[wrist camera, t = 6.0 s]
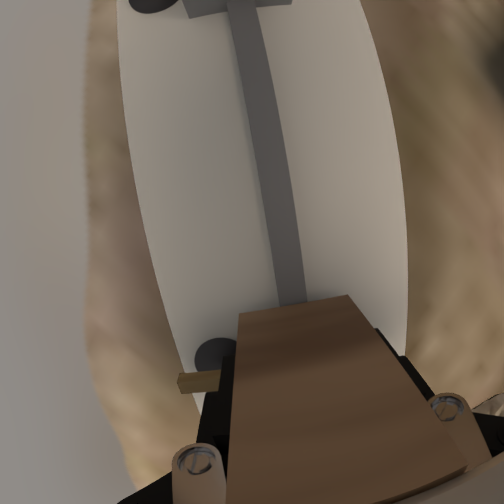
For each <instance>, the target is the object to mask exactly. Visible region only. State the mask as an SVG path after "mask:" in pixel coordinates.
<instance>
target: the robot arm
mask: <svg viewBox="0 0 504 504" xmlns="http://www.w3.org/2000/svg"><path fill="white" fill-rule="evenodd" d="M374 329H375V330H376V332H377V333H378V334H379V336H380V337H381V338H382V340H383V341H384V342H385V344H386V345H387V346H388V348H389V349H390V350H391V352H392V353H393V355H394V356H395V357H396V359H397V360H398V361H399V363H400V364H401V366H402V367H403V368H404V370H405V371H406V372H407V374H408V375H409V377H410V378H411V379H412V381H413V382H414V384H415V385H416V386H417V388H418V389H419V391H420V392H421V394H422V395H423V396H424V398H425V399H426V401H427V402H428V404H429V405H430V407H431V408H432V409H433V411H434V412H435V414H436V415H437V417H438V418H439V420H440V421H441V423H442V424H443V426H444V427H445V429H446V430H447V432H448V433H449V435H450V436H451V438H452V439H453V441H454V442H455V444H456V445H457V447H458V448H459V450H460V452H461V453H462V455H463V456H464V458H465V459H466V461H467V463H468V466H467V468H466V470H465V472H464V473H463V474H462V475H460V476H458V477H456V478H454V479H452V480H450V481H448V482H446V483H443V484H441V485H439V486H437V487H434V488H432V489H430V490H427V491H425V492H422V493H420V494H417V495H415V496H412V497H409V498H407V499H404V500H401V501H398V502H396V503H393V504H504V417H502V416H495V415H489V414H482V413H476V412H472V411H471V409H470V407H469V405H468V403H467V402H466V400H465V399H464V398H463V397H461V396H460V395H457V394H455V393H440V394H438V395H435V394H434V393H433V391H432V390H431V389H430V387H429V386H428V385H427V383H426V382H425V381H424V379H423V378H422V377H421V375H420V374H419V373H418V371H417V370H416V369H415V368H414V366H413V365H412V364H411V362H410V361H409V360H408V358H407V357H406V356H403V355H402V356H399V355H398V354H397V352H396V351H395V350H394V348H393V347H392V346H391V344H390V343H389V342H388V340H387V339H386V338H385V337H384V335H383V334H382V333H381V331H380V330H379V329H378V328H374ZM235 357H236V354H233V355H225V356H223V359H222V367H221V374H220V381H219V388H218V391H212V392H206V393H205V397H204V402H203V408H202V413H201V418H200V424H199V429H198V435H197V440H196V443H194V444H190V445H187V446H185V447H183V448H181V449H180V450H179V451H178V452H177V453H176V454H175V455H174V457H173V460H172V471H171V472H170V473H168V474H166V475H165V476H163V477H161V478H160V479H158V480H156V481H155V482H153V483H151V484H150V485H148V486H146V487H145V488H143V489H141V490H139V491H137V492H136V493H134V494H132V495H130V496H128V497H127V498H125V499H123V500H121V501H120V502H119V503H117V504H225V501H226V485H227V470H228V455H229V440H230V426H231V412H232V398H233V384H234V370H235Z"/></svg>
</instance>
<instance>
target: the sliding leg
mask: <svg viewBox="0 0 504 504" xmlns="http://www.w3.org/2000/svg"><path fill="white" fill-rule="evenodd" d="M220 374H221V370H212V371H202V372H191V373H180V375H179V378H178V381H177V384H178V386H179V389H180V391H181V394H187V393H201V392H212V391H218V388H219V381H220ZM467 466H468V463H467V461H466V459H465V458H464V456H463V455H462V453H461V452H460V450H459V448H458V447H457V445H456V444H455V442H454V441H453V439H452V438H451V436H450V435H449V433H448V432H447V430H446V429H445V427H444V426H443V424H442V423H441V421H440V420H439V418H438V417H437V415H436V414H435V412H434V411H433V409H432V408H431V407H430V405H429V404H428V402H427V401H426V399H425V398H424V396H423V395H422V394H421V392H420V391H419V389H418V388H417V386H416V385H415V384H414V382H413V381H412V379H411V378H410V377H409V375H408V374H407V372H406V371H405V370H404V368H403V367H402V366H401V364H400V363H399V361H398V360H397V359H396V357H395V356H394V355H393V353H392V352H391V350H390V349H389V348H388V346H387V345H386V344H385V342H384V341H383V340H382V338H381V337H380V336H379V334H378V333H377V332H376V330H375V329H374V328H373V326H372V325H371V324H370V322H369V321H368V320H367V319H366V317H365V316H364V315H363V313H362V312H361V311H360V309H359V308H358V307H357V306H356V304H355V303H354V302H353V300H352V299H351V298H350V297H349V295H348V294H347V295H342V296H337V297H332V298H326V299H321V300H316V301H310V302H305V303H299V304H294V305H288V306H282V307H276V308H270V309H264V310H258V311H252V312H245V313H239V318H238V331H237V344H236V357H235V370H234V384H233V398H232V412H231V426H230V440H229V455H228V470H227V485H226V501H225V504H393V503H396V502H398V501H401V500H404V499H407V498H409V497H412V496H415V495H417V494H420V493H422V492H425V491H427V490H430V489H432V488H434V487H437V486H439V485H441V484H443V483H446V482H448V481H450V480H452V479H454V478H456V477H458V476H460V475H462V474H463V473H464V472H465V470H466V468H467Z"/></svg>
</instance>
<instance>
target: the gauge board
mask: <svg viewBox="0 0 504 504" xmlns="http://www.w3.org/2000/svg"><path fill="white" fill-rule="evenodd" d="M117 33H118V51H119V65H120V77H121V88H122V97H123V106H124V114H125V122H126V129H127V137H128V143H129V150H130V156H131V162H132V168H133V174H134V180H135V185H136V190H137V195H138V201H139V206H140V210H141V215H142V220H143V225H144V229H145V234H146V238H147V242H148V247H149V251H150V255H151V259H152V263H153V267H154V271H155V275H156V279H157V282H158V286H159V290H160V294H161V297H162V301H163V304H164V308H165V311H166V315H167V318H168V321H169V325H170V328H171V331H172V335H173V338H174V341H175V344H176V347H177V350H178V353H179V356H180V359H181V362H182V365H183V368H184V371H185V373H191V372H202V371H212V370H221V367H222V359H223V356H225V355H233V354H236V344H237V331H238V318H239V313H245V312H252V311H258V310H264V309H270V308H276V307H282V306H288V305H294V304H299V303H305V302H310V301H316V300H321V299H326V298H332V297H337V296H342V295H347V294H348V295H349V297H350V298H351V299H352V300H353V302H354V303H355V304H356V306H357V307H358V308H359V309H360V311H361V312H362V313H363V315H364V316H365V317H366V319H367V320H368V321H369V322H370V324H371V325H372V326H373V328H378V329H379V330H380V331H381V333H382V334H383V335H384V337H385V338H386V339H387V340H388V342H389V343H390V344H391V346H392V347H393V348H394V350H395V351H396V352H397V354H398V355H399V356H402V355H403V356H405V345H406V330H407V307H408V254H407V231H406V216H405V204H404V193H403V184H402V175H401V167H400V160H399V153H398V147H397V140H396V135H395V129H394V123H393V118H392V113H391V108H390V103H389V99H388V94H387V90H386V86H385V82H384V77H383V74H382V70H381V66H380V62H379V59H378V55H377V51H376V48H375V45H374V41H373V38H372V35H371V32H370V29H369V26H368V23H367V20H366V17H365V14H364V11H363V8H362V5H361V3H360V0H117ZM205 393H206V392H201V393H192V394H193V397H194V399H195V402H196V405H197V407H198V410H199V413H200V415H201V413H202V408H203V402H204V397H205Z"/></svg>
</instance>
